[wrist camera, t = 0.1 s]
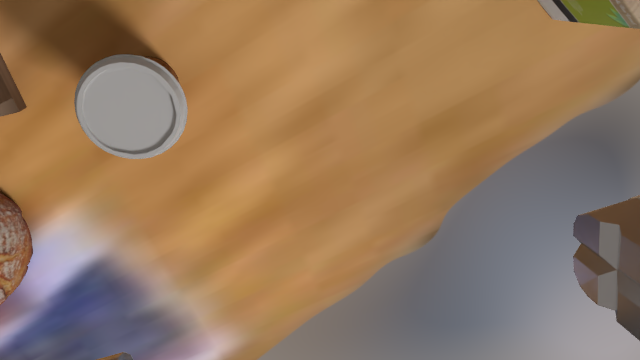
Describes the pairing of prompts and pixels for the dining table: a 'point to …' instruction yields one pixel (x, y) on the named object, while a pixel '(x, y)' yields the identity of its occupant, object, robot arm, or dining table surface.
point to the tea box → (595, 11)
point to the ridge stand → (9, 92)
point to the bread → (12, 247)
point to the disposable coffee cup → (131, 106)
